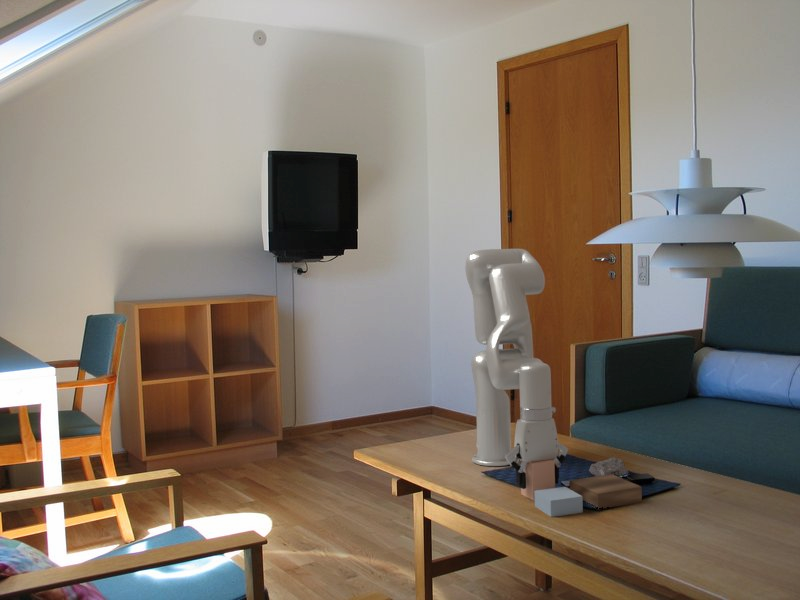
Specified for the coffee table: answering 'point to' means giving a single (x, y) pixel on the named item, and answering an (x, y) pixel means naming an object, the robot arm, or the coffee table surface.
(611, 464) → the rock
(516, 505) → the coffee table surface
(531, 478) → the terracotta block
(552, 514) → the slate block
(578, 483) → the walnut block
